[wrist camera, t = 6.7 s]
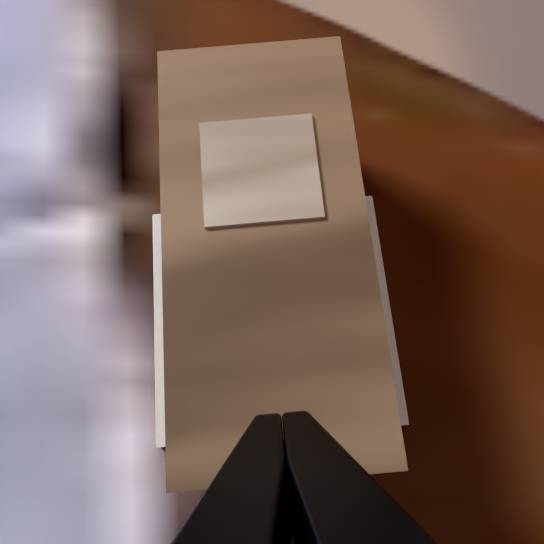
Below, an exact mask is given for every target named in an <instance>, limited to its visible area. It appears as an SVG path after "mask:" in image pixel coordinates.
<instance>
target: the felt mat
mask: <svg viewBox="0 0 544 544" xmlns="http://www.w3.org/2000/svg"><path fill="white" fill-rule="evenodd" d="M365 198H366V205H367V211H368V218H369V224H370V230H371V237H372V243H373V249H374V256H375V262H376V268H377V275H378V281H379V288H380V294H381V300H382V307H383V313H384V319H385V326H386V332H387V338H388V345H389V351H390V358H391V364H392V370H393V377H394V383H395V389H396V396H397V402H398V408H399V415H400V421H401V425H409V420H408V414H407V408H406V401H405V395H404V389H403V383H402V377H401V371H400V364H399V358H398V352H397V346H396V340H395V334H394V327H393V321H392V315H391V309H390V303H389V296H388V290H387V284H386V278H385V272H384V266H383V259H382V253H381V247H380V241H379V235H378V228H377V222H376V216H375V210H374V204H373V198H372V196H365ZM153 275H154V342H155V410H156V448H158V447H165V401H164V351H163V302H162V253H161V214H154V215H153Z"/></svg>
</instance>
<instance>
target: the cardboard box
mask: <svg viewBox="0 0 544 544" xmlns="http://www.w3.org/2000/svg"><path fill="white" fill-rule="evenodd" d="M157 55H158V105H159V154H160V203H161V253H162V302H163V351H164V401H165V450H166V493H171V492H182V491H193V490H204V489H207V488H208V486H209V485H210V483H211V482H212V480H213V479H214V477H215V476H216V474H217V473H218V471H219V470H220V468H221V467H222V465H223V464H224V462H225V461H226V459H227V458H228V456H229V455H230V453H231V452H232V450H233V449H234V447H235V446H236V444H237V443H238V441H239V440H240V438H241V437H242V435H243V434H244V432H245V431H246V429H247V428H248V426H249V425H250V423H251V422H252V420H253V419H254V417H255V416H256V415H260V414H271V413H278V414H280V415H281V417H282V415H283V414H284V413H285V412H293V411H307V412H309V413H310V414H311V415H312V416H313V417H314V418H315V419H316V420H317V421H318V422H319V423H320V424H321V425H322V426H323V427H324V428H325V429H326V430H327V431H328V432H329V434H330V435H331V436H332V437H333V438H334V439H335V440H336V441H337V442H338V443H339V444H340V445H341V446H342V447H343V448H344V449H345V450H346V451H347V452H348V453H349V454H350V455H351V456H352V457H353V458H354V459H355V460H356V461H357V462H358V463H359V464H360V465H361V466H362V467H363V468H364V469H365V470H366V471H367V472H368V473H369V474H379V473H390V472H401V471H408V466H407V459H406V453H405V447H404V440H403V434H402V428H401V421H400V415H399V408H398V402H397V396H396V389H395V383H394V377H393V370H392V364H391V358H390V351H389V345H388V338H387V332H386V326H385V319H384V313H383V307H382V300H381V294H380V288H379V281H378V275H377V268H376V262H375V256H374V249H373V243H372V237H371V230H370V224H369V218H368V211H367V205H366V198H365V192H364V186H363V179H362V173H361V167H360V160H359V154H358V148H357V141H356V135H355V128H354V122H353V116H352V109H351V103H350V97H349V90H348V84H347V78H346V71H345V65H344V59H343V52H342V46H341V39H340V36H337V37H325V38H313V39H301V40H289V41H277V42H265V43H253V44H241V45H229V46H217V47H205V48H193V49H181V50H169V51H157ZM282 427H283V424H282ZM283 437H284V436H283Z"/></svg>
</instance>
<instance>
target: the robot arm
mask: <svg viewBox="0 0 544 544" xmlns="http://www.w3.org/2000/svg"><path fill="white" fill-rule="evenodd" d="M282 424H283V427H282ZM283 436H284V437H283ZM288 492H289V493H288ZM289 503H290V504H289ZM290 514H291V516H290ZM291 525H292V528H291ZM292 535H293V541H292ZM171 544H437V543H436V542H435V541H434V540H433V539H432V538H431V537H430V536H429V535H428V534H427V533H426V532H425V531H424V530H423V528H422V527H421V526H420V525H419V524H418V523H417V522H416V521H415V520H414V519H413V518H412V517H411V516H410V515H409V514H408V513H407V512H406V511H405V510H404V509H403V508H402V507H401V506H400V505H399V504H398V503H397V502H396V501H395V500H394V499H393V498H392V497H391V496H390V495H389V494H388V493H387V492H386V491H385V490H384V489H383V488H382V487H381V486H380V485H379V484H378V483H377V482H376V480H375V479H374V478H373V477H372V476H371V475H370V474H369V473H368V472H367V471H366V470H365V469H364V468H363V467H362V466H361V465H360V464H359V463H358V462H357V461H356V460H355V459H354V458H353V457H352V456H351V455H350V454H349V453H348V452H347V451H346V450H345V449H344V448H343V447H342V446H341V445H340V444H339V443H338V442H337V441H336V440H335V439H334V438H333V437H332V436H331V435H330V434H329V432H328V431H327V430H326V429H325V428H324V427H323V426H322V425H321V424H320V423H319V422H318V421H317V420H316V419H315V418H314V417H313V416H312V415H311V414H310V413H309V412H307V411H293V412H285V413H284V414H283V415H282V417H281V415H280V414H278V413H271V414H260V415H256V416H255V417H254V419H253V420H252V422H251V423H250V425H249V426H248V428H247V429H246V431H245V432H244V434H243V435H242V437H241V438H240V440H239V441H238V443H237V444H236V446H235V447H234V449H233V450H232V452H231V453H230V455H229V456H228V458H227V459H226V461H225V462H224V464H223V465H222V467H221V468H220V470H219V471H218V473H217V474H216V476H215V477H214V479H213V480H212V482H211V483H210V485H209V486H208V488H207V489H206V491H205V492H204V494H203V495H202V497H201V498H200V500H199V501H198V503H197V505H196V506H195V508H194V509H193V511H192V512H191V514H190V515H189V517H188V518H187V520H186V521H185V523H184V524H183V526H182V527H181V529H180V530H179V532H178V533H177V535H176V536H175V538H174V539H173V541H172V542H171Z"/></svg>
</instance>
